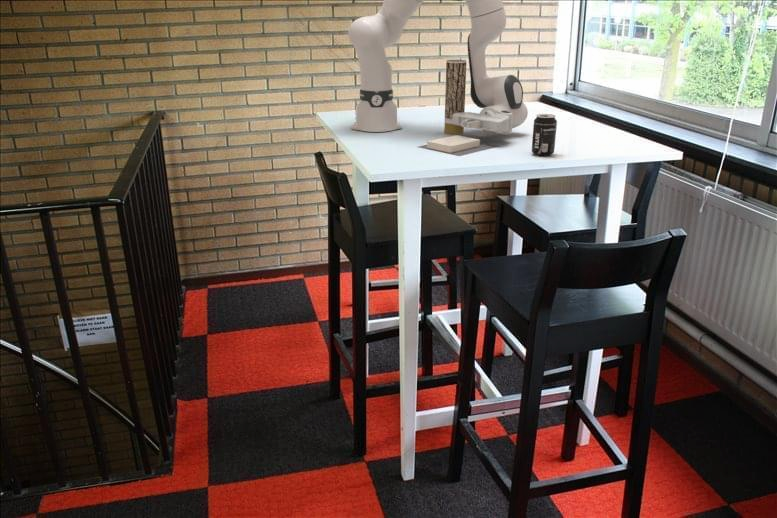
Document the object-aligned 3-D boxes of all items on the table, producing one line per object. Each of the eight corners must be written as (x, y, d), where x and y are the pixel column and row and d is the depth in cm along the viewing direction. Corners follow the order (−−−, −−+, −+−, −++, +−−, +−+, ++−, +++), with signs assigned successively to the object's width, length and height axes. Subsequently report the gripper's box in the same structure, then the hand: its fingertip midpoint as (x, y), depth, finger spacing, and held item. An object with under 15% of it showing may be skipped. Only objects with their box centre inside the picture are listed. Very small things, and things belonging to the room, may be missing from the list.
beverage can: (531, 151, 207) (534, 113, 203) (553, 152, 206) (557, 113, 201) (531, 156, 201) (534, 117, 196) (554, 157, 200) (557, 117, 195)
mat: (457, 139, 225) (457, 137, 225) (499, 147, 213) (500, 146, 213) (416, 148, 212) (416, 146, 212) (459, 157, 200) (459, 156, 200)
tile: (456, 135, 218) (427, 141, 209) (479, 139, 211) (450, 146, 202) (456, 142, 219) (426, 148, 210) (479, 146, 212) (450, 153, 203)
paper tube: (441, 135, 231) (443, 61, 222) (447, 131, 237) (449, 59, 228) (460, 136, 229) (463, 61, 220) (465, 132, 235) (468, 59, 225)
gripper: (468, 106, 227) (441, 111, 218) (517, 113, 213) (490, 119, 204) (467, 124, 229) (440, 130, 220) (515, 133, 215) (489, 139, 206)
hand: (464, 124), depth 212 cm, fingers closed
